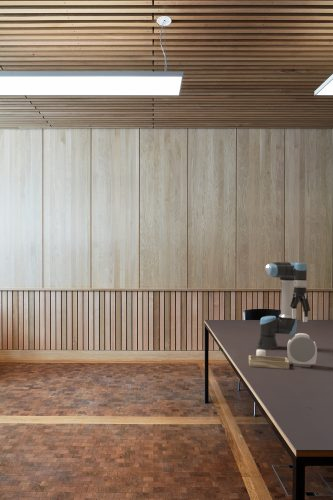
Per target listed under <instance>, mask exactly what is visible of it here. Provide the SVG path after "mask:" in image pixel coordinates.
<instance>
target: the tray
mask: <svg viewBox="0 0 333 500" xmlns="http://www.w3.org/2000/svg"><path fill="white" fill-rule="evenodd" d="M248 365H249V367H250V368H251V367H255V368H269V369H270V368H271V369H285V370H286V369H287V370H290V362H289V361H288V356H287V357H286V356H285V357H284V356H283V357H282V356H269V355H268V356H267V355H266V356H256V355H251V354H249V355H248Z"/></svg>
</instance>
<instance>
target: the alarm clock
mask: <svg viewBox="0 0 333 500" xmlns="http://www.w3.org/2000/svg"><path fill="white" fill-rule="evenodd" d="M286 347H287V348H286V349H287V350H286V352H287V353H286V354H287V359H288V361H289V363H292V366H294V367H303V368H311V365H316V363H317V357H318V347H317V344H316V341H313V339H312V338H311V337H310V335H309V334H307V333H301V332H299V333H294V336H293V337H292V338H291V339H288V342H287V346H286Z"/></svg>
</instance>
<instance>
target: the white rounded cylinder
mask: <svg viewBox="0 0 333 500" xmlns="http://www.w3.org/2000/svg"><path fill="white" fill-rule="evenodd" d="M255 350H256V351H255V352H256V353H255V356H267V352H266V350H267V349H263V348H259V349H258V348H257V349H255Z"/></svg>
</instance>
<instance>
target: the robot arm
mask: <svg viewBox="0 0 333 500" xmlns="http://www.w3.org/2000/svg"><path fill="white" fill-rule="evenodd" d="M264 273H265V274H266V275H267V276H268V277H272V278H277V279H278V278H279V281H280V282H281V295H280V296H281V298H280V300H281V304H280V306H281V307H280V314H279V315H278V318H277V317H276V316H275V315H266V316H262V317H261V318H260V321H259V339H258V341H257V346H256V347H257V348H259V349H263V350H276V349H278V347H279V345H278V341H277V336H276V335H295V334H296V332H297V327H298V320H297V313H298V312H297V307H298V304H299V303H301V307H302V309H303V310H302V323H308V318H309V317H308V316H309V312H310V311H311V308H310V303H309V299H308V295H305V294H306V293H307V286H308V285H307V282H308V281H307V277H308V276H307V275H308V264H307V263H306V262H291V261H290V262H287V261H284V262H283V261H280V262H279V261H275V262H270V263H267V264H266V265H265V267H264Z"/></svg>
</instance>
